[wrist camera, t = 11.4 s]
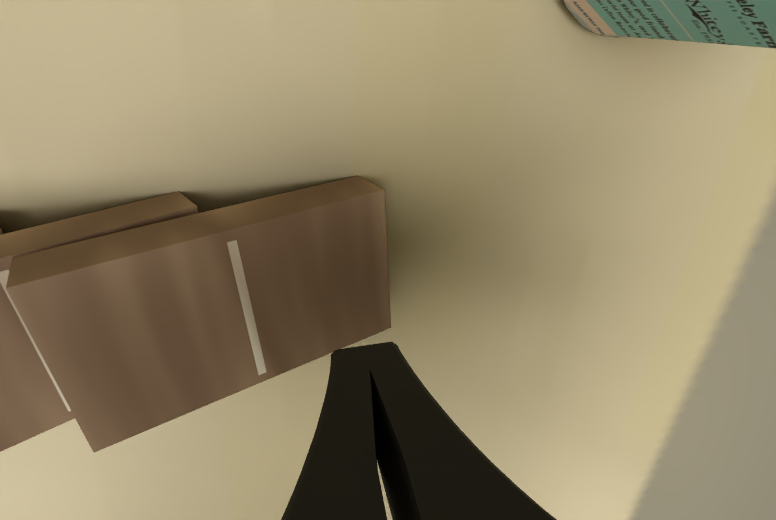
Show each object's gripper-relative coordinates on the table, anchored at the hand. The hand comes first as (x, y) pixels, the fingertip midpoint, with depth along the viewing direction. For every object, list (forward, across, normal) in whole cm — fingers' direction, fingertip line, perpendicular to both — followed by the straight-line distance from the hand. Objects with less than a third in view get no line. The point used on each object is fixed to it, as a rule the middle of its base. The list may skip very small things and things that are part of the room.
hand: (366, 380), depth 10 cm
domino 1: (+6, -1, 0) cm, 6 cm away
